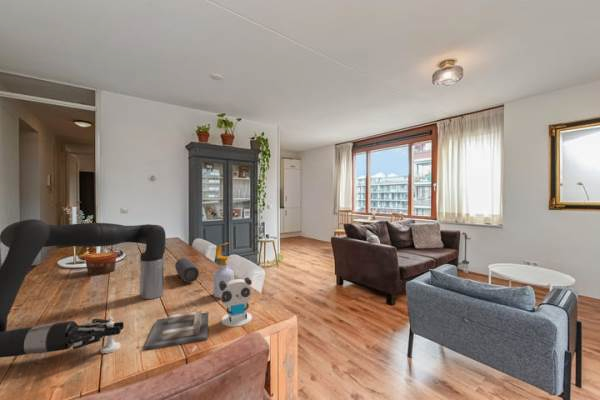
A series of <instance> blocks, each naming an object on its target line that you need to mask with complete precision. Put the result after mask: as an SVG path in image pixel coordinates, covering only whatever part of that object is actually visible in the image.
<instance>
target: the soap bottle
mask: <svg viewBox="0 0 600 400" xmlns="http://www.w3.org/2000/svg"><path fill="white" fill-rule="evenodd" d="M228 244H229V242H225V243H221V244H219V245H217V246H216V247H215V257H216V259H217V260H220V261H221V262H220V264H219V269H217V270H216V271H215V272H214V273H213V296H214V297H215V298H218V299H221V297H220V292H221V290H220V287H219V283H220V282H221V281H225V283H227V282H228V281H231V280H234V279H235V274H234V271H233V270H232V269H231V268H229V267H228V262H226V261H228V259H229V258H230V257H231V256H227V255H226V256H224V255H222V246H225V245H228Z"/></svg>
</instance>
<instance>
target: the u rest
mask: <svg viewBox="0 0 600 400" xmlns="http://www.w3.org/2000/svg"><path fill="white" fill-rule="evenodd" d="M208 328H209V312H202V310H200V311H192V312H184V313H177V314H169V315H168V317H164V318H157V319H156V321H155V323H154V325H153V327H152V329H151V331H150V334H149V336H148V338H147V341H146V343H145V345H144V350H145V351H147V350H153V349H154V350H155V349H159V348H165V347H171V346H178V345H182V344H188V343H194V342H201V341H206V340H208V332H209V331H208V330H209V329H208Z"/></svg>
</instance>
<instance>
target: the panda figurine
mask: <svg viewBox="0 0 600 400" xmlns="http://www.w3.org/2000/svg"><path fill="white" fill-rule="evenodd" d="M250 285H252V280H251V279H250V277H245V278H244V279H241V278H237V279H235V278H234V280H231V281H228V282H227V283H225V281H221V282H220V283H219V287H220V290H221V292H220V297H221V298H220V300H221V303H222V305H224V306H225V307H226V313H227V314H224V315H223V317H222V318H221V319H220V320H221V324H222V325H224V326H226V327H231V328H233V327H241V326H245V325H247V324H249V323H250V322H251V321H252V320H253V315H252V314H251V313H250V312H248V309H249V306H250V305H249V303H248V302H249V301H250V299H251V298H252V290H251V289H252V288H251V287H250Z"/></svg>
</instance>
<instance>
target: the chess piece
mask: <svg viewBox="0 0 600 400" xmlns="http://www.w3.org/2000/svg"><path fill="white" fill-rule="evenodd" d="M106 320H109V322H108V323H107V324H106V325H107V328H109V327H113V325H114V323H115V321H113V320H114V318H113V317H112V316H109V317H108V318H107V319H106ZM120 348H121V343H120V342H118V341H115V340H114V335H110V336H107V342H106V343H105V344H104V345H103V346H102V347H101V348H100V351H99V352H100V353H101V354H104V353H106V354H110V352H111V353H113V352H116V351H117V350H119V349H120ZM115 350H116V351H115Z"/></svg>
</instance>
